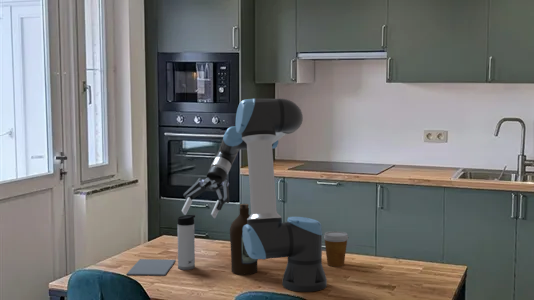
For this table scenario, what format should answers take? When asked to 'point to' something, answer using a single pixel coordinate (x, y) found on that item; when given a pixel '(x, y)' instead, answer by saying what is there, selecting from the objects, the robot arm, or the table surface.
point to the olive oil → (241, 245)
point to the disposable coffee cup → (335, 248)
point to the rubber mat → (151, 267)
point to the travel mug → (186, 242)
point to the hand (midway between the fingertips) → (198, 214)
